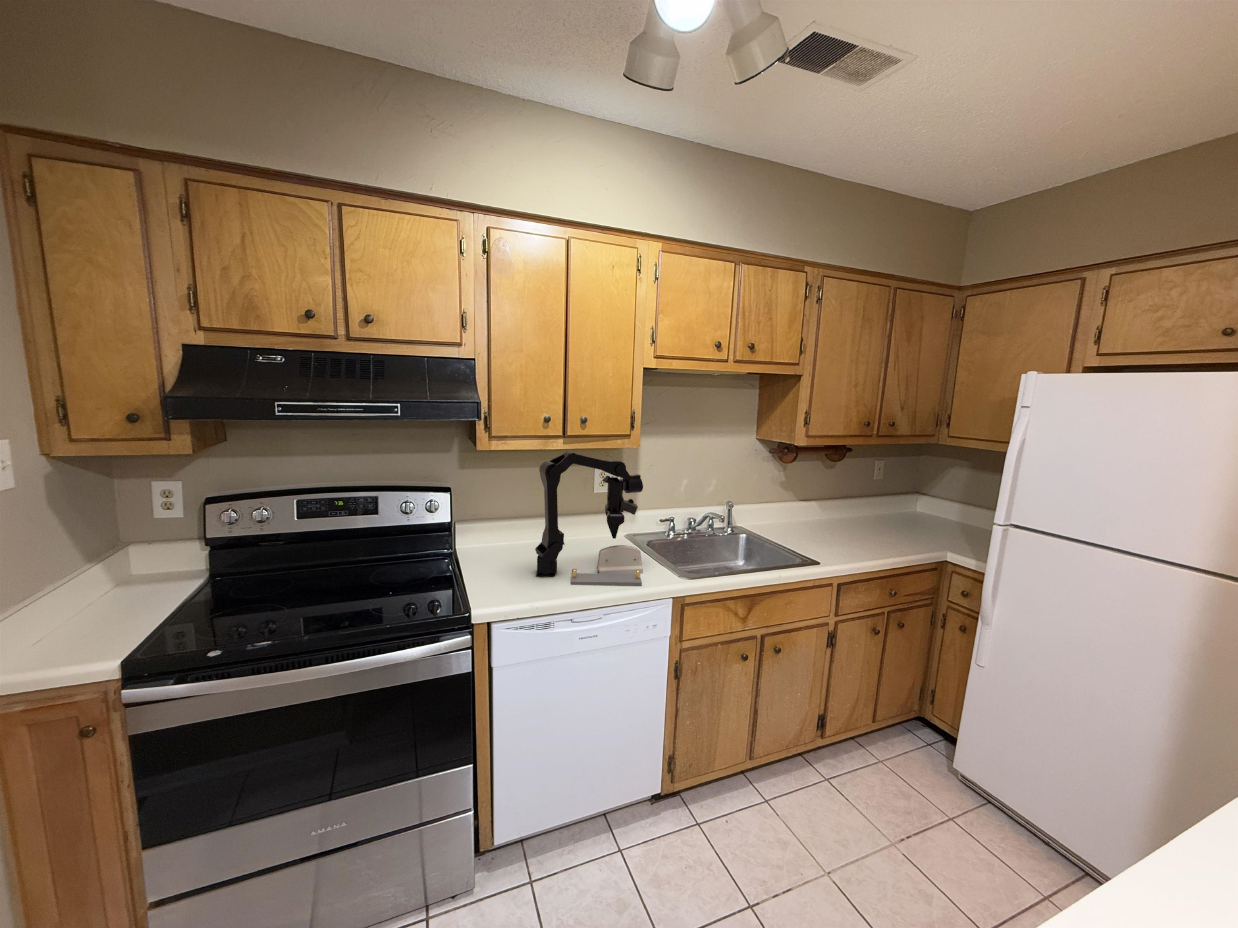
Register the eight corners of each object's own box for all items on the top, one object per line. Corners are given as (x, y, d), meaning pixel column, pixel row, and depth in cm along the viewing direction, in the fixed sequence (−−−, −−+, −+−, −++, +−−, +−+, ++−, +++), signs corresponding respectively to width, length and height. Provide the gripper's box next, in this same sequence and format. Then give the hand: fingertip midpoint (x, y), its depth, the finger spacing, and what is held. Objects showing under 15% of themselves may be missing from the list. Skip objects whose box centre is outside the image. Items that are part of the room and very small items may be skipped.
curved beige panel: (598, 575, 179) (598, 547, 178) (596, 572, 183) (596, 545, 183) (643, 573, 182) (644, 546, 182) (640, 570, 187) (640, 543, 187)
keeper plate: (570, 585, 169) (571, 573, 168) (571, 576, 177) (571, 565, 176) (641, 585, 171) (642, 574, 170) (639, 577, 178) (639, 566, 178)
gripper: (639, 499, 176) (637, 542, 179) (634, 489, 195) (632, 528, 197) (607, 499, 176) (606, 542, 178) (605, 488, 194) (604, 527, 196)
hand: (613, 534), depth 187 cm, fingers open, 9 cm apart
